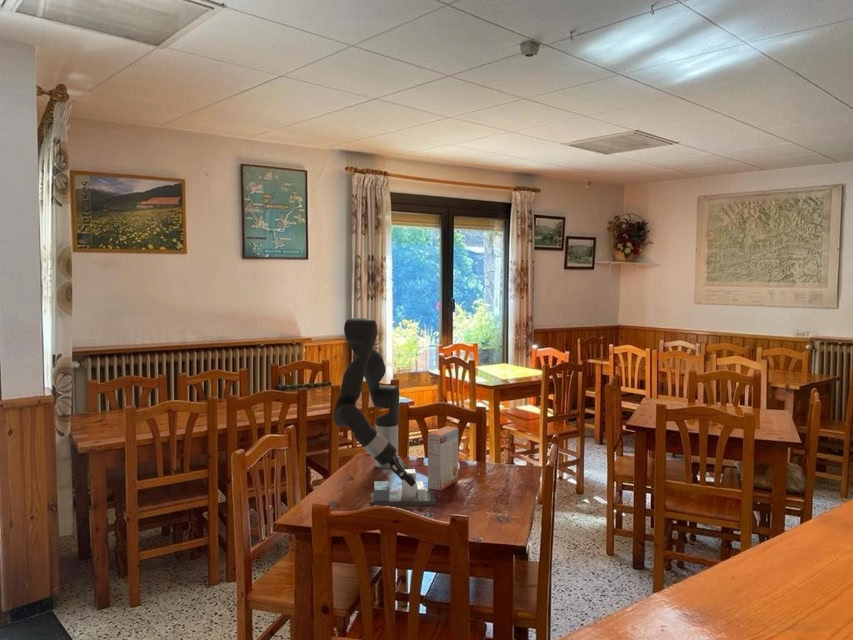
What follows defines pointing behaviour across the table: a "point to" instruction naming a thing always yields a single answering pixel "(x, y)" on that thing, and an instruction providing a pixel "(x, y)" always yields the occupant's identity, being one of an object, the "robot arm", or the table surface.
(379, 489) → the sliding jaw
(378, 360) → the robot arm
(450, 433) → the cracker box
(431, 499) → the vise bed
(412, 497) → the steel block
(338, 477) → the table surface
